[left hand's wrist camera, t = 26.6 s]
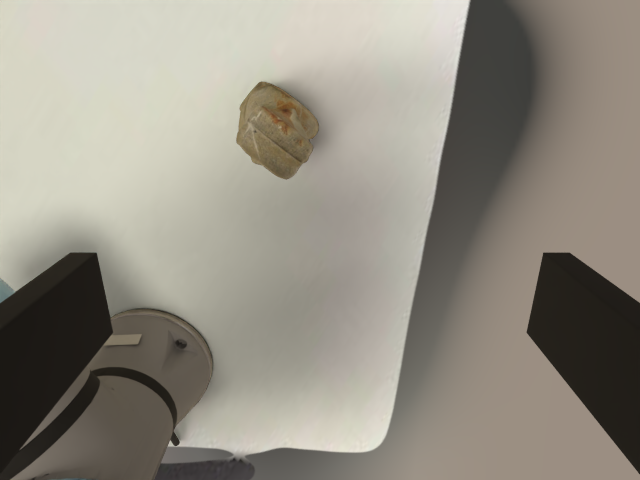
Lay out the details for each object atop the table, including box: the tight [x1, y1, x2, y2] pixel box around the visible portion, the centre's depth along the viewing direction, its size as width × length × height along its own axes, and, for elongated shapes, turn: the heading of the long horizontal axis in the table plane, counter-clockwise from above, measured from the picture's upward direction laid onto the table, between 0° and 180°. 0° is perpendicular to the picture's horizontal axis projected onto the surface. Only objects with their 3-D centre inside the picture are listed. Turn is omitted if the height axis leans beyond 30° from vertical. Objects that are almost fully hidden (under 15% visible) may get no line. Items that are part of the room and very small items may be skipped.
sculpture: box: [236, 82, 319, 179], centre depth 36 cm, size 6×7×15 cm
